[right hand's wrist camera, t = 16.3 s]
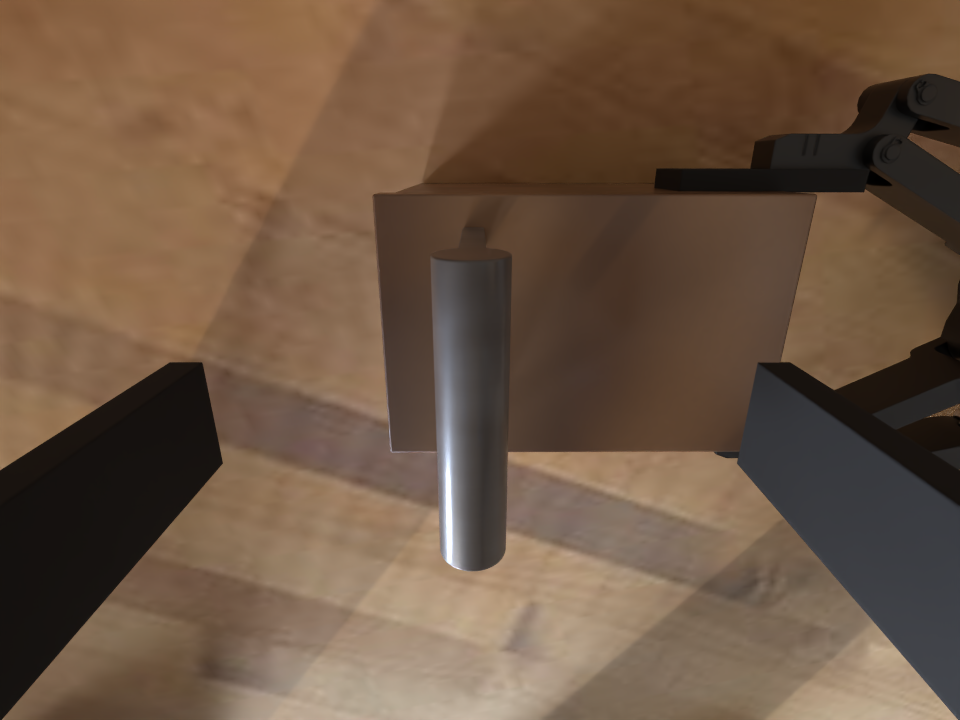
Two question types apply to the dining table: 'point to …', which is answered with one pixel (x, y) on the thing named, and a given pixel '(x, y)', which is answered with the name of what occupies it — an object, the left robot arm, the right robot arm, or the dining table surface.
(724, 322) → the lid
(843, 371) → the dining table surface
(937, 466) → the right robot arm
